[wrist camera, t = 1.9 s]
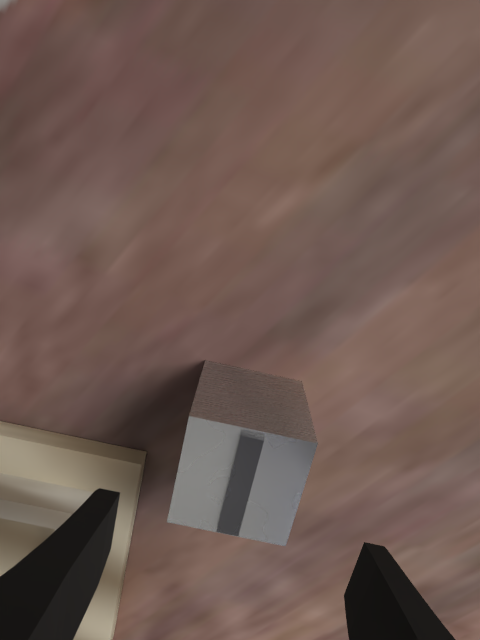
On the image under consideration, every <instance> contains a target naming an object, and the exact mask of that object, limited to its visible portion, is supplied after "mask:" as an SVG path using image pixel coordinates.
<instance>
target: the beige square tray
mask: <svg viewBox="0 0 480 640" xmlns="http://www.w3.org/2000/svg"><path fill="white" fill-rule="evenodd" d="M146 454H147V452H145V451H141V450H136V449H131V448H126V447H121V446H117V445H112V444H107V443H102V442H98V441H93V440H88V439H83V438H78V437H74V436H69V435H64V434H59V433H55V432H50V431H45V430H40V429H36V428H31V427H26V426H21V425H16V424H12V423H7V422H2V421H0V576H2V575H3V574H4V573H6V572H7V571H8V570H9V569H11V568H12V567H13V566H15V565H16V564H17V563H18V562H20V561H21V560H22V559H23V558H24V557H26V556H27V555H28V554H29V553H30V552H32V551H33V550H34V549H35V548H36V547H38V546H39V545H40V544H41V543H42V542H43V541H44V540H46V539H47V538H48V537H49V536H50V535H51V534H52V533H53V532H54V531H55V530H56V529H58V528H59V527H60V526H61V525H62V524H63V523H64V522H65V521H66V520H67V519H68V518H69V517H70V516H71V515H72V514H73V513H74V512H75V511H76V510H77V509H78V508H79V507H80V506H81V505H82V504H83V503H84V502H85V501H86V500H87V499H88V498H89V497H90V496H91V494H92V493H93V492H94V491H95V490H97V489H99V488H101V489H106V490H111V491H116V492H120V497H119V503H118V509H117V515H116V521H115V527H114V533H113V540H112V546H111V550H110V553H109V556H108V559H107V562H106V565H105V567H104V570H103V573H102V576H101V579H100V582H99V584H98V587H97V589H96V591H95V593H94V596H93V598H92V600H91V602H90V604H89V606H88V609H87V611H86V613H85V615H84V617H83V619H82V622H81V624H80V626H79V628H78V630H77V632H76V635H75V637H74V639H73V640H112V639H113V636H114V631H115V625H116V619H117V614H118V608H119V603H120V597H121V592H122V586H123V581H124V575H125V570H126V564H127V559H128V553H129V548H130V542H131V537H132V531H133V526H134V520H135V515H136V509H137V504H138V498H139V493H140V487H141V482H142V476H143V471H144V465H145V460H146Z"/></svg>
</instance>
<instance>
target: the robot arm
mask: <svg viewBox="0 0 480 640" xmlns="http://www.w3.org/2000/svg"><path fill="white" fill-rule="evenodd" d="M119 497H120V492H116V491H111V490H106V489H101V488H99V489H97V490H95V491H94V492H93V493H92V494H91V496H90V497H89V498H88V499H87V500H86V501H85V502H84V503H83V504H82V505H81V506H80V507H79V508H78V509H77V510H76V511H75V512H74V513H73V514H72V515H71V516H70V517H69V518H68V519H67V520H66V521H65V522H64V523H63V524H62V525H61V526H60V527H59V528H58V529H56V530H55V531H54V532H53V533H52V534H51V535H50V536H49V537H48V538H47V539H46V540H44V541H43V542H42V543H41V544H40V545H39V546H38V547H36V548H35V549H34V550H33V551H32V552H30V553H29V554H28V555H27V556H26V557H24V558H23V559H22V560H21V561H20V562H18V563H17V564H16V565H15V566H13V567H12V568H11V569H9V570H8V571H7V572H6V573H4V574H3V575H2V576H0V640H73V639H74V637H75V635H76V632H77V630H78V628H79V626H80V624H81V622H82V619H83V617H84V615H85V613H86V611H87V609H88V606H89V604H90V602H91V600H92V598H93V596H94V593H95V591H96V589H97V587H98V584H99V582H100V579H101V576H102V573H103V570H104V567H105V565H106V562H107V559H108V556H109V553H110V550H111V546H112V540H113V533H114V527H115V521H116V515H117V509H118V503H119ZM344 600H345V610H346V619H347V627H348V635H349V640H455V639H454V637H453V636H452V635H451V634H450V633H449V631H448V630H447V629H446V628H445V626H444V625H443V624H442V623H441V621H440V620H439V619H438V617H437V616H436V615H435V614H434V612H433V611H432V610H431V608H430V607H429V606H428V604H427V603H426V602H425V600H424V599H423V598H422V596H421V595H420V594H419V592H418V591H417V590H416V588H415V587H414V586H413V584H412V583H411V582H410V580H409V579H408V577H407V576H406V575H405V573H404V572H403V571H402V569H401V568H400V566H399V565H398V564H397V562H396V561H395V560H394V558H393V557H392V556H391V554H390V553H389V552H388V550H387V549H386V548H385V547H384V546H379V545H375V544H370V543H365V542H364V544H363V547H362V550H361V552H360V555H359V557H358V560H357V563H356V565H355V568H354V571H353V573H352V576H351V578H350V581H349V584H348V586H347V589H346V591H345V594H344Z"/></svg>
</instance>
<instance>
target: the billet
mask: <svg viewBox="0 0 480 640" xmlns="http://www.w3.org/2000/svg"><path fill="white" fill-rule="evenodd" d="M317 444H318V442H317V438H316V434H315V430H314V426H313V422H312V418H311V414H310V410H309V406H308V402H307V398H306V395H305V391H304V387H303V383H302V381H300V380H295V379H290V378H286V377H281V376H277V375H272V374H267V373H263V372H258V371H254V370H249V369H244V368H240V367H235V366H231V365H226V364H221V363H217V362H212V361H208V360H205V363H204V366H203V370H202V373H201V376H200V380H199V383H198V387H197V390H196V394H195V397H194V401H193V404H192V408H191V411H190V414H189V419H188V423H187V428H186V433H185V438H184V443H183V447H182V452H181V457H180V462H179V467H178V471H177V476H176V481H175V486H174V491H173V495H172V500H171V505H170V510H169V515H168V519H167V522H169V523H174V524H179V525H184V526H189V527H194V528H199V529H203V530H208V531H213V532H218V533H223V534H228V535H233V536H238V537H243V538H248V539H253V540H257V541H262V542H267V543H272V544H277V545H282V546H286V543H287V540H288V537H289V534H290V530H291V527H292V524H293V521H294V518H295V514H296V511H297V508H298V505H299V502H300V499H301V495H302V492H303V489H304V486H305V483H306V479H307V476H308V473H309V470H310V467H311V463H312V460H313V457H314V454H315V451H316V447H317Z"/></svg>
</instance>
